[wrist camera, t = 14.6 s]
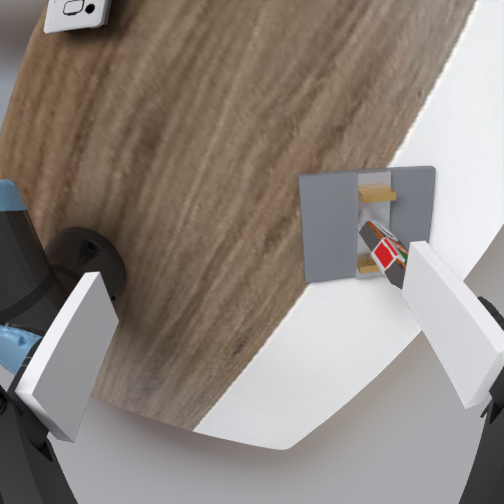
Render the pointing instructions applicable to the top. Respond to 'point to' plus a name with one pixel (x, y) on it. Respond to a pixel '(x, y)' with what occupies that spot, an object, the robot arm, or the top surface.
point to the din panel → (344, 216)
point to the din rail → (371, 215)
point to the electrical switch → (76, 14)
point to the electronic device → (386, 251)
